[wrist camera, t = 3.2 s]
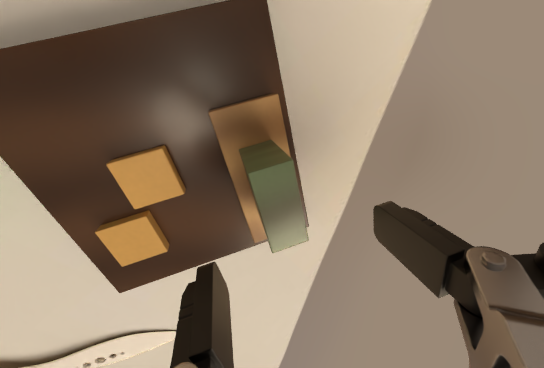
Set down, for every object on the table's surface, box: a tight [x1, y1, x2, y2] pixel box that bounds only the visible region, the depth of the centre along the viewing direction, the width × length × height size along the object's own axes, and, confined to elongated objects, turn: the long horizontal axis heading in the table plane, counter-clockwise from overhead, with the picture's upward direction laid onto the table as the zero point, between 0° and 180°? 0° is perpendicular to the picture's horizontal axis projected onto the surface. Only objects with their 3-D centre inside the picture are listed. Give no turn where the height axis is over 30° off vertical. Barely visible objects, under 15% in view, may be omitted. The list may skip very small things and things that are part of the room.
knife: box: [20, 331, 176, 368], centre depth 23 cm, size 31×6×2 cm, turn 79°
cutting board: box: [0, 0, 309, 293], centre depth 18 cm, size 20×20×1 cm
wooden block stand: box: [209, 93, 308, 253], centre depth 16 cm, size 12×5×7 cm, turn 13°
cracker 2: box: [95, 210, 169, 267], centre depth 18 cm, size 4×4×1 cm
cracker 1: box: [106, 145, 186, 209], centre depth 17 cm, size 4×4×1 cm
